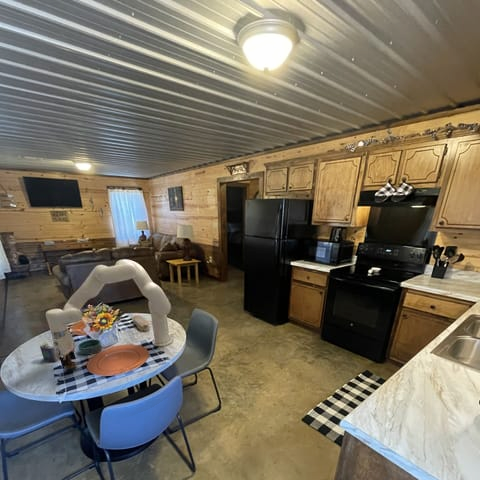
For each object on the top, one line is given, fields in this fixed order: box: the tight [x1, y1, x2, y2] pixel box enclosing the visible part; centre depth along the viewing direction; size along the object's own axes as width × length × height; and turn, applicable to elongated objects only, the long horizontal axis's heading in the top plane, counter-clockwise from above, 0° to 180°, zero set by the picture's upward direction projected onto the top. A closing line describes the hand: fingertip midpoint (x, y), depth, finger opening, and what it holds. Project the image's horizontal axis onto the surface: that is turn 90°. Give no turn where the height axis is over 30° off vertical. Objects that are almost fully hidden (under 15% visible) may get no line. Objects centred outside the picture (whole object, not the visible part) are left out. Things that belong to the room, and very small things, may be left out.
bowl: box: [77, 339, 103, 356], centre depth 163 cm, size 12×12×4 cm
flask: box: [39, 343, 59, 363], centre depth 151 cm, size 9×3×11 cm, turn 74°
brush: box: [63, 353, 77, 373], centre depth 142 cm, size 6×6×10 cm
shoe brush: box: [131, 315, 150, 332], centre depth 197 cm, size 24×8×5 cm, turn 37°
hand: (69, 362), depth 142 cm, fingers open, 5 cm apart
